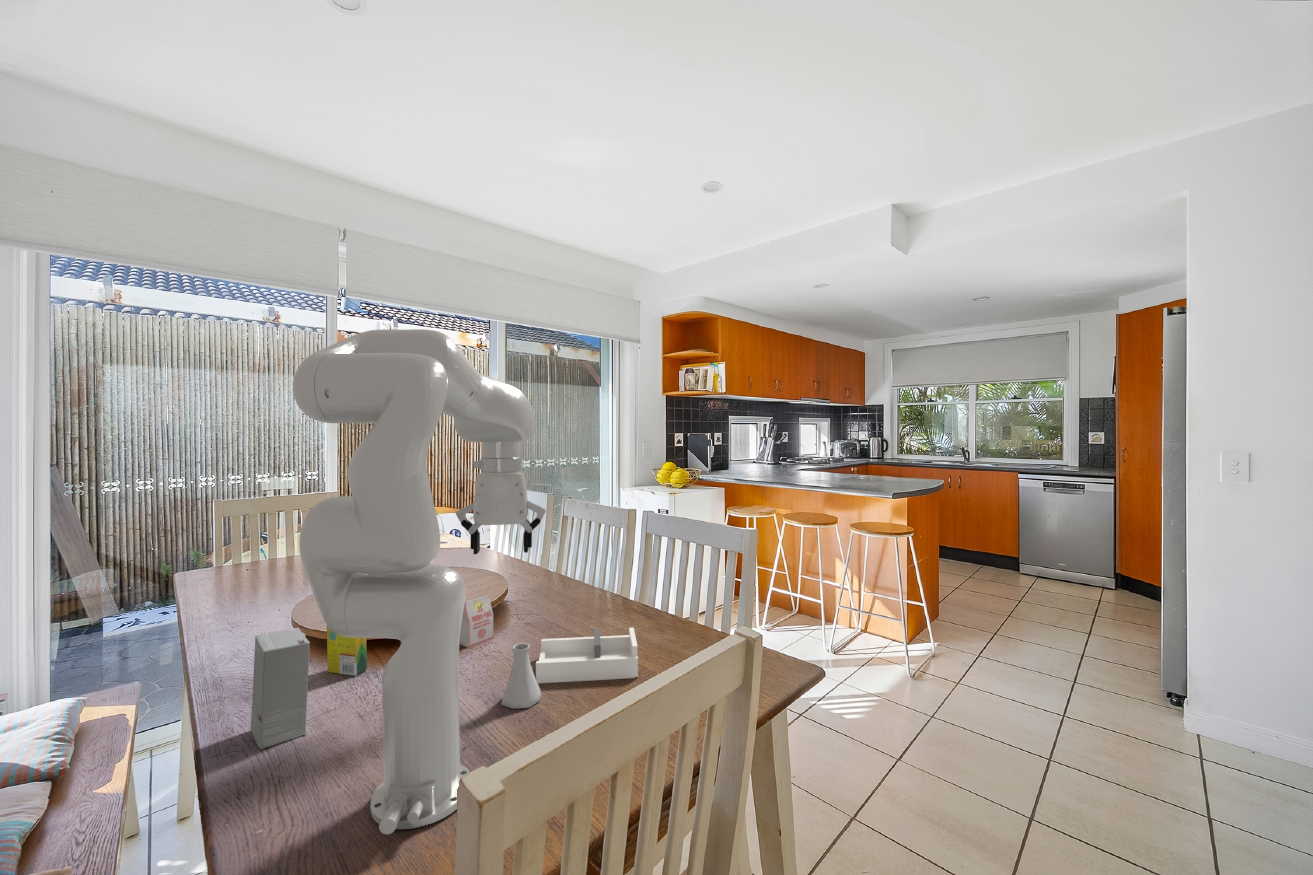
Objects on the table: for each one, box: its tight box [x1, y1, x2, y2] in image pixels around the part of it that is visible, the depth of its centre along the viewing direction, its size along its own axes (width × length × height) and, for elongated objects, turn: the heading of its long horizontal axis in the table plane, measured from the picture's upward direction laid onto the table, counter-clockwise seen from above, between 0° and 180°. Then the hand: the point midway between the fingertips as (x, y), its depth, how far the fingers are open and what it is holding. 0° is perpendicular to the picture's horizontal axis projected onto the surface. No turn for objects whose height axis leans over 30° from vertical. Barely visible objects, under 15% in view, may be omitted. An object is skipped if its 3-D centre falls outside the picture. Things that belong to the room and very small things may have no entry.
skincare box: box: [250, 627, 311, 750], centre depth 89 cm, size 8×7×16 cm
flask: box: [500, 642, 542, 710], centre depth 100 cm, size 7×7×10 cm
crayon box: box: [326, 625, 368, 677], centre depth 111 cm, size 7×3×12 cm, turn 74°
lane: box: [535, 627, 639, 684], centre depth 113 cm, size 12×20×6 cm, turn 97°
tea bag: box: [459, 594, 494, 649], centre depth 127 cm, size 4×7×10 cm, turn 143°
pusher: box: [593, 628, 601, 658], centre depth 113 cm, size 9×1×5 cm, turn 7°
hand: (501, 551), depth 109 cm, fingers open, 9 cm apart
